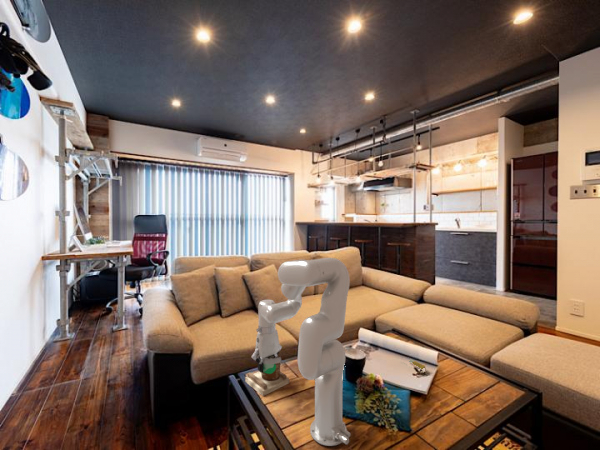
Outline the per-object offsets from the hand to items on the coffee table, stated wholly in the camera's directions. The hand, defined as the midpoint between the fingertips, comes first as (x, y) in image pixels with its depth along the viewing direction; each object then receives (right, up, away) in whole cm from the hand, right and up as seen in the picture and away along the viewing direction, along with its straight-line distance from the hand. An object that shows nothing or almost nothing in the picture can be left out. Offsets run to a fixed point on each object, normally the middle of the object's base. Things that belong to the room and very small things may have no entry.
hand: (267, 368), depth 124 cm
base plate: (0, -6, 0) cm, 6 cm away
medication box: (+69, -7, +11) cm, 71 cm away
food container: (0, -4, 0) cm, 4 cm away
